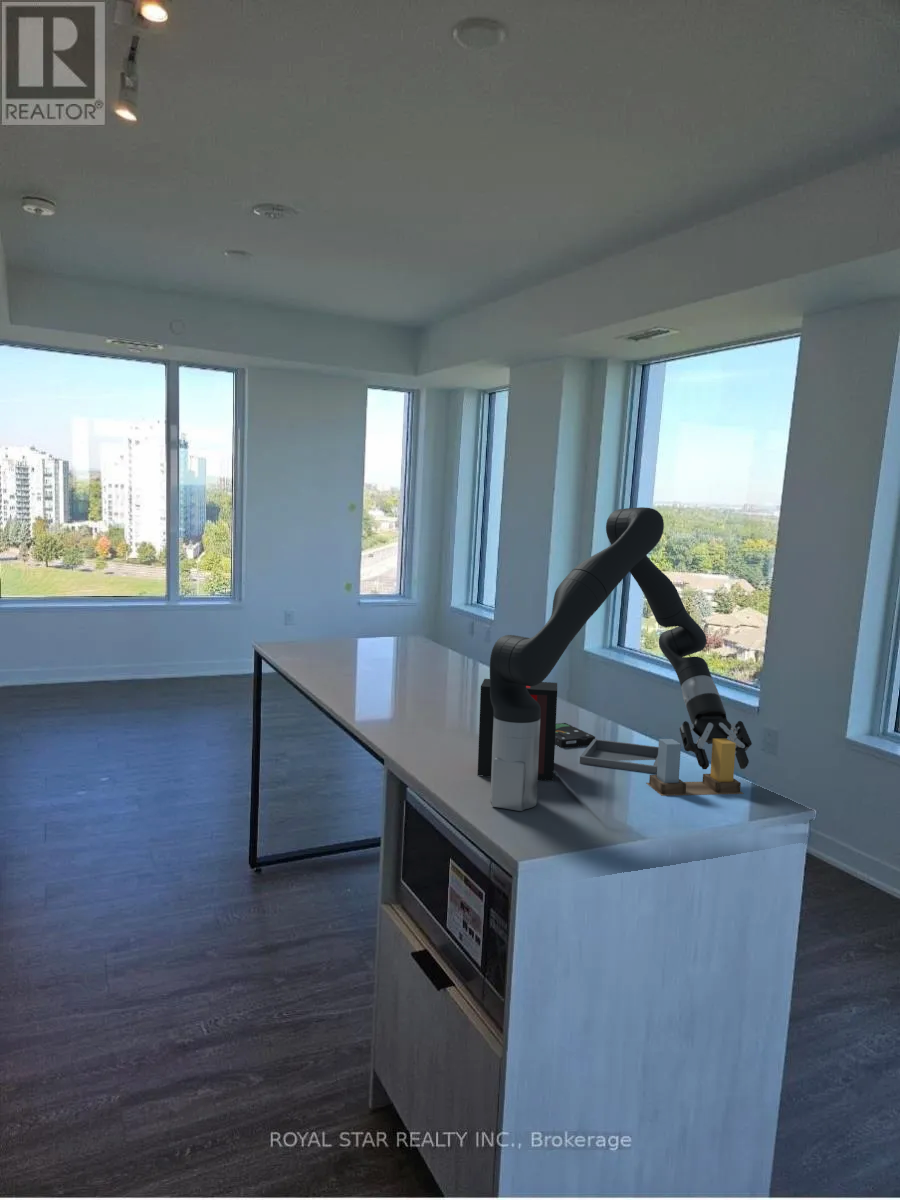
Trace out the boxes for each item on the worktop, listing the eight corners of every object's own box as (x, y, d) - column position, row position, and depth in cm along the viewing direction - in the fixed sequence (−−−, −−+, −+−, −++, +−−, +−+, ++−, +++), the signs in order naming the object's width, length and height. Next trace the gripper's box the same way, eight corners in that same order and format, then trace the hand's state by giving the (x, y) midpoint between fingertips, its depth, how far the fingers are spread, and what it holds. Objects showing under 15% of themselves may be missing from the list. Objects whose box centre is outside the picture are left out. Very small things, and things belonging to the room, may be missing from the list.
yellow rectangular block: (732, 790, 162) (735, 743, 161) (719, 790, 161) (722, 743, 160) (722, 784, 166) (725, 738, 165) (709, 784, 165) (712, 738, 164)
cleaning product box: (553, 769, 178) (557, 682, 176) (553, 781, 169) (557, 690, 167) (481, 763, 180) (484, 678, 178) (477, 775, 171) (480, 686, 169)
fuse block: (743, 800, 160) (744, 784, 160) (661, 802, 157) (662, 785, 157) (724, 787, 168) (725, 772, 168) (645, 789, 165) (646, 773, 165)
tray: (655, 780, 172) (656, 766, 171) (579, 769, 178) (579, 756, 177) (663, 759, 187) (664, 747, 187) (593, 750, 194) (594, 738, 193)
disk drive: (595, 747, 199) (564, 731, 213) (596, 736, 199) (565, 721, 212) (561, 750, 195) (531, 734, 208) (561, 739, 195) (532, 724, 208)
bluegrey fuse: (678, 791, 160) (680, 744, 159) (664, 792, 159) (667, 744, 158) (669, 785, 164) (672, 738, 163) (656, 785, 163) (658, 739, 162)
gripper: (678, 691, 168) (700, 759, 158) (739, 691, 170) (765, 758, 160) (666, 710, 174) (686, 776, 163) (725, 709, 176) (749, 775, 166)
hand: (725, 767), depth 162 cm, fingers open, 8 cm apart
